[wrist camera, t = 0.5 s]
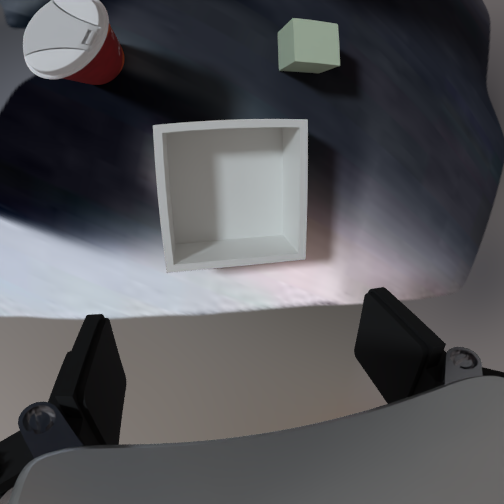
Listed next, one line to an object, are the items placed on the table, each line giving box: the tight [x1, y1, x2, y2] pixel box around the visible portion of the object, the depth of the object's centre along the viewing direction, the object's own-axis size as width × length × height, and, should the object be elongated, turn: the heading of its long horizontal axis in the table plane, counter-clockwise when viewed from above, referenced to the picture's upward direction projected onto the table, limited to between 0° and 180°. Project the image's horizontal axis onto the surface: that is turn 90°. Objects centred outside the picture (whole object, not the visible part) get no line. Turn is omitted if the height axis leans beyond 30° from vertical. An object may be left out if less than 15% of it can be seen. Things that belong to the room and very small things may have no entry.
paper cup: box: [23, 0, 124, 85], centre depth 23 cm, size 8×8×14 cm
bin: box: [153, 119, 308, 273], centre depth 34 cm, size 15×15×7 cm
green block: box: [278, 18, 340, 73], centre depth 30 cm, size 5×5×6 cm
